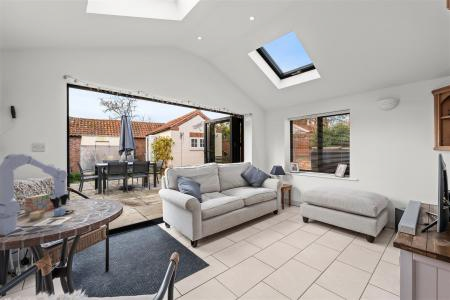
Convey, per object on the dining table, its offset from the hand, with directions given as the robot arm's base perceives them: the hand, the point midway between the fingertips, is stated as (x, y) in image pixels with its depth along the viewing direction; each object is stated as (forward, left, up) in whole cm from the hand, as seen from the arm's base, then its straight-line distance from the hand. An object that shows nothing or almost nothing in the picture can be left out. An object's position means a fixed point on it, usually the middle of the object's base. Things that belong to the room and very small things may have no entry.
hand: (60, 206), depth 133 cm
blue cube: (0, 0, -6) cm, 6 cm away
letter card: (-13, -4, -6) cm, 15 cm away
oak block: (-6, +10, -6) cm, 13 cm away
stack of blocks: (+16, +19, -7) cm, 26 cm away
